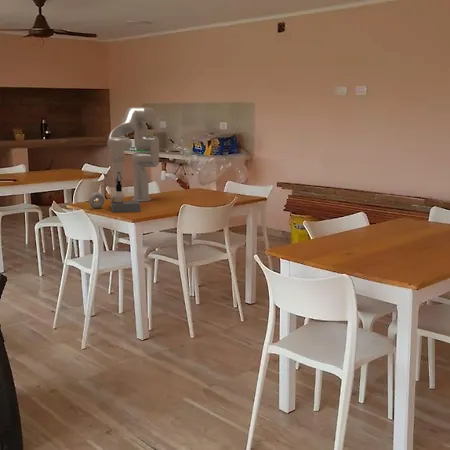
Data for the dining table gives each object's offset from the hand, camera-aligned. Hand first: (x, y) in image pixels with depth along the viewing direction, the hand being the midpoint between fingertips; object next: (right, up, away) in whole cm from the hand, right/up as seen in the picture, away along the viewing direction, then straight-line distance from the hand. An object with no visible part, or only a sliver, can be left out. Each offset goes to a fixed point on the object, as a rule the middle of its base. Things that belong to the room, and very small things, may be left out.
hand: (118, 190), depth 363 cm
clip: (-6, -4, +8) cm, 11 cm away
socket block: (+4, -12, +3) cm, 13 cm away
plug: (0, -9, +2) cm, 9 cm away
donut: (-15, -11, +9) cm, 20 cm away
